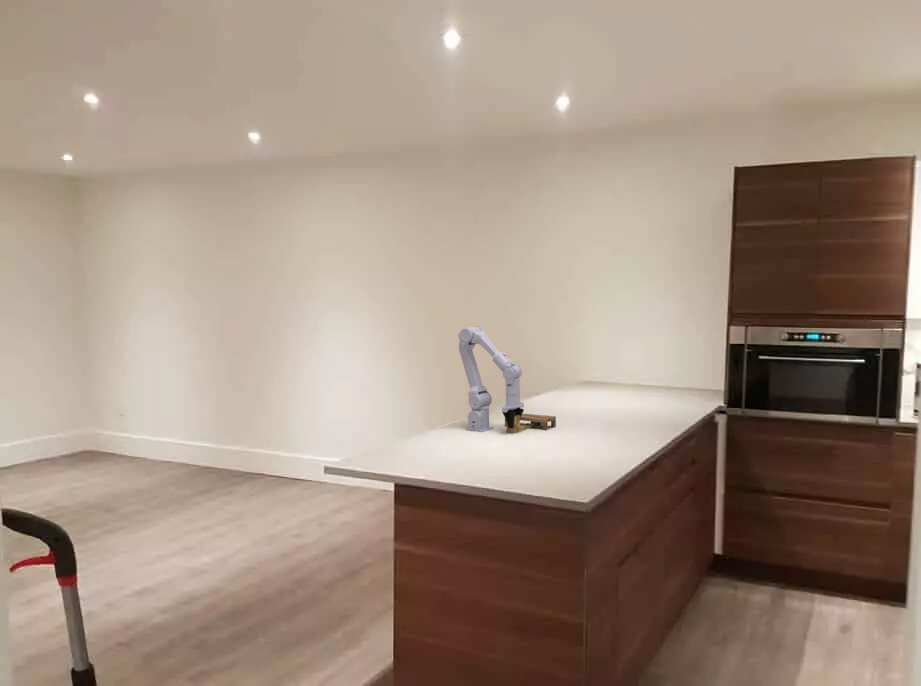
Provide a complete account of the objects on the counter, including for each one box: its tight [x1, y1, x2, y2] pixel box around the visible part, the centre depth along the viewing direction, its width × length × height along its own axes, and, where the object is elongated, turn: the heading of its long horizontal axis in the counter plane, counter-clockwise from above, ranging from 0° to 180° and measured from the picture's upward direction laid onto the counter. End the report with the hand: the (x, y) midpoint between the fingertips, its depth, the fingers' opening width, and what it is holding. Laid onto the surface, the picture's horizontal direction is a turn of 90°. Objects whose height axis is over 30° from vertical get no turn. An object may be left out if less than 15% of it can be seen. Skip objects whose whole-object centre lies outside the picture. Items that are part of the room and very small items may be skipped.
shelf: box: [504, 412, 557, 431], centre depth 323 cm, size 9×20×4 cm, turn 55°
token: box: [530, 421, 543, 426], centre depth 329 cm, size 5×5×2 cm
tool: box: [506, 415, 535, 434], centre depth 317 cm, size 17×4×7 cm, turn 146°
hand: (513, 426), depth 311 cm, fingers closed on tool, 4 cm apart
